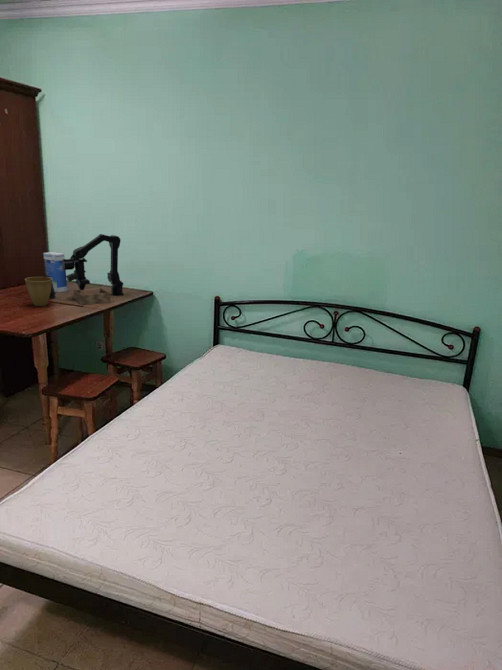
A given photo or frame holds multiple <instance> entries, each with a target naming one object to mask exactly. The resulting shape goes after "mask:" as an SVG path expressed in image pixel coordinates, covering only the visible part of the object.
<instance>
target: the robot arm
mask: <svg viewBox="0 0 502 670" xmlns="http://www.w3.org/2000/svg"><path fill="white" fill-rule="evenodd" d="M102 242H108V245H109V247H110V271H109V272H107V273H106V274H107V277H106V278H107V280H108V281H109V283H110V284H111V289H110V290H111V291H110V295H113V296H123V295H124V292H123V286H124V282H123V281H122V280H120V279H121V277H120V274H119V271H118V265H119V263H118V261H119V248H120V244H121V238H120V236H117V235H113V234H111V235H106V234H101V233H100V234H98V235H97V236H96V237H95V238H93V239H91V240H90V241H88V243H86V244H85V245H83V246H79V247H77V248H75V249H74V250H73V251H72V255H71V257H70V258H67V259H66V258H65V259H63V261H62V268H63V270H66V271H68V270H69V271H70V270H73V272H72V273H69V274H66V280H67V281H68V282H72V281H74V283H75V284H77V287H78V290H85V288H86V286H87V285H90V284H91V281H90V279H88V278H87V277H86V273H87V271H86V269H85V263H87V262H88V260H87V259H86V258H85V257H86V256H87V255H88V253H89V252H90V251H91V250H93V249H94V248H95V247H97V246H98V245H100V244H101V243H102Z"/></svg>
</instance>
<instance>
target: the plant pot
mask: <svg viewBox="0 0 502 670" xmlns="http://www.w3.org/2000/svg"><path fill="white" fill-rule="evenodd" d="M24 280H25V281H24V282H25V285H26V288H27V292H28V294H29V297H30V301H32V303H33V305H34V306H36V307H45V306H47V305H48V304H49V300H50V299H49V297H50V292H51V286H52V278H49V277H44V276H31V277H26V278H24Z"/></svg>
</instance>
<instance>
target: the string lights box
mask: <svg viewBox="0 0 502 670" xmlns="http://www.w3.org/2000/svg"><path fill="white" fill-rule="evenodd" d="M42 255H43V263H44V272H45V276H46V275H48V276H50V277H49V278H52V283H53V288H54V292H55V293H63V292H68V283H67V281H68V280H67V278H66V276H67V270H63V268H62V261H63V259H66V258H65V257H66V256H65V253H60V252H54V251H51V252H50V251H49V252H48V251H47V252H43V253H42Z"/></svg>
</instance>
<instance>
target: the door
mask: <svg viewBox="0 0 502 670" xmlns="http://www.w3.org/2000/svg"><path fill="white" fill-rule="evenodd" d="M100 288H101V287H100ZM100 288H87V289H84V290H80V294H81V295H91V294H100Z"/></svg>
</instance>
